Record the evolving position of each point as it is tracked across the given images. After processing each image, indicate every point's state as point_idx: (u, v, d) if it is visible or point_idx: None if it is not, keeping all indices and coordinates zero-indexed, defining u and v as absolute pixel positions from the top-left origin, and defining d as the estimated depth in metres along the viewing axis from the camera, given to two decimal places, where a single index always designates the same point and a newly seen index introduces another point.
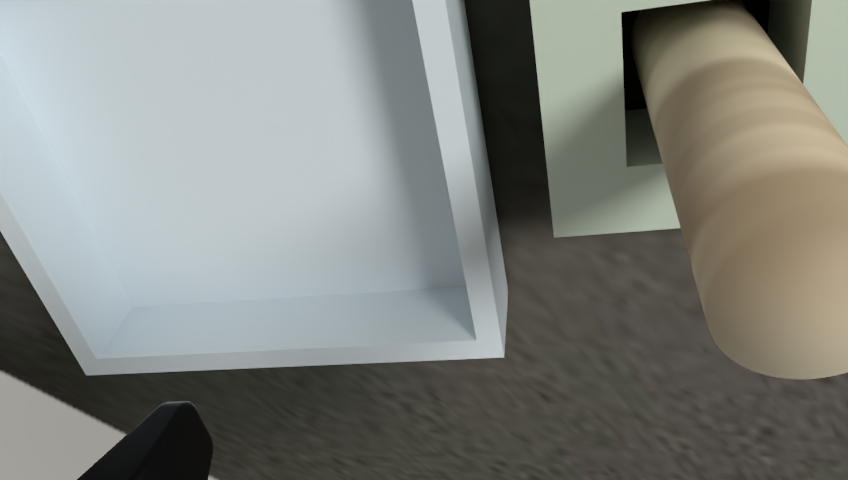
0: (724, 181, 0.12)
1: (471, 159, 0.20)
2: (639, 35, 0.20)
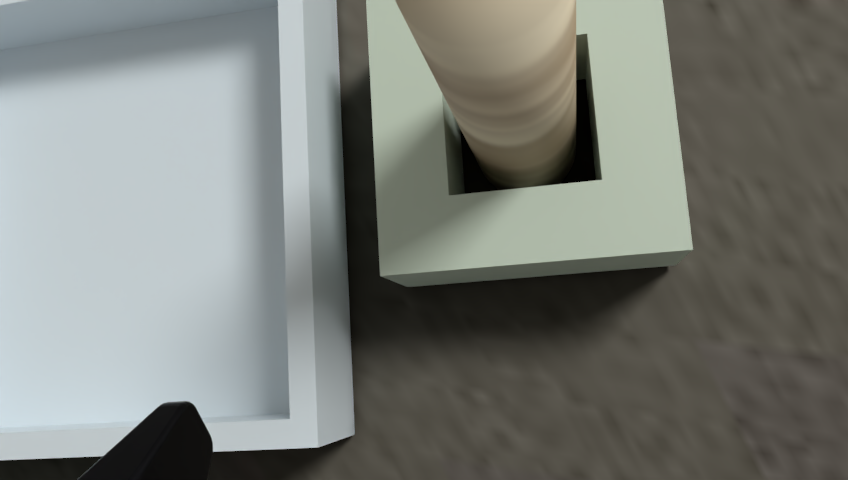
0: None
1: (309, 188, 0.22)
2: None
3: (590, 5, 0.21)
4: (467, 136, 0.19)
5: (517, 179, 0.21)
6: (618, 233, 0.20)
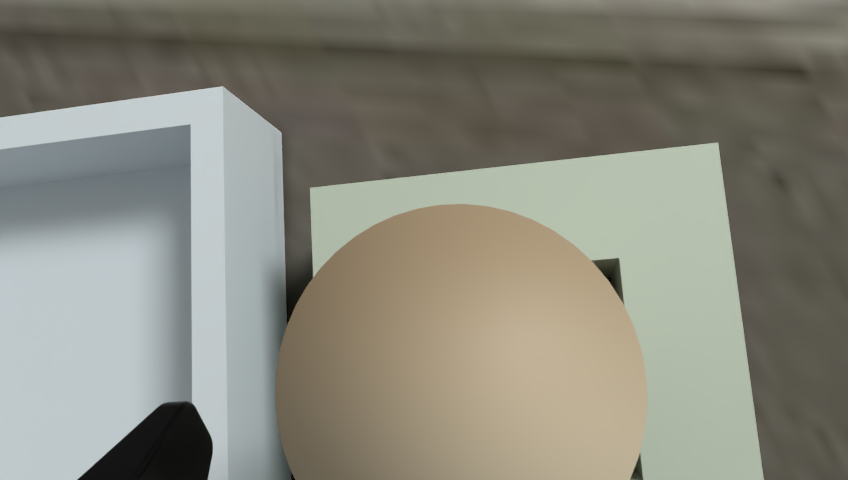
0: None
1: (228, 460, 0.15)
2: None
3: (624, 217, 0.15)
4: None
5: None
6: None
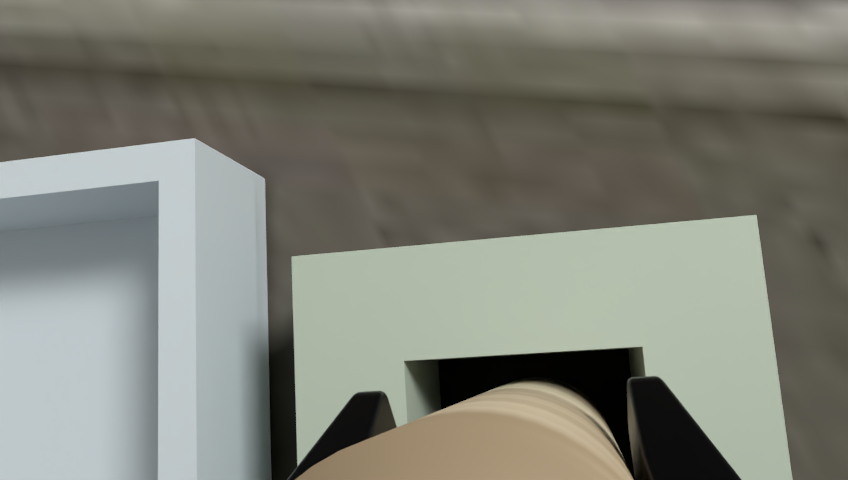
0: None
1: None
2: None
3: (648, 299, 0.13)
4: None
5: None
6: None
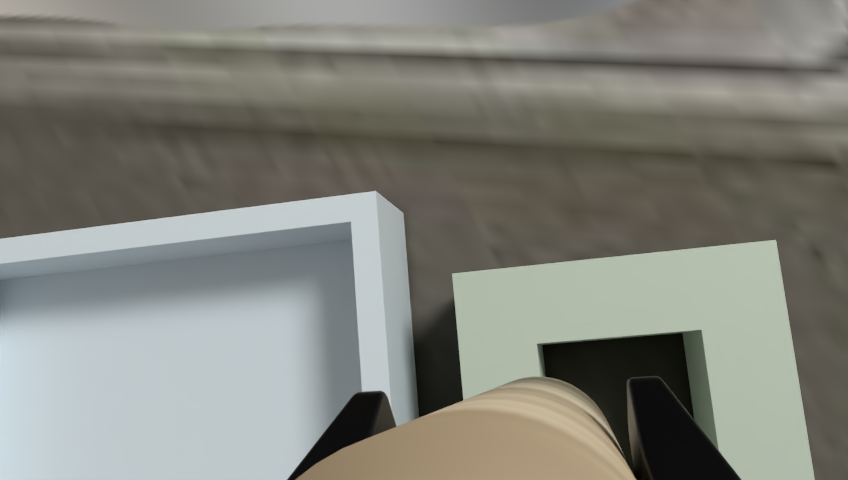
0: None
1: None
2: None
3: (704, 297, 0.19)
4: None
5: None
6: None
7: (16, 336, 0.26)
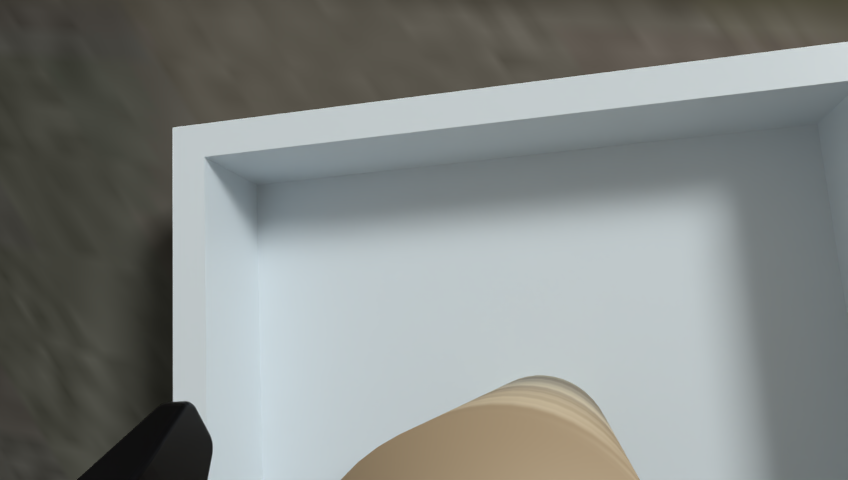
0: None
1: None
2: None
3: None
4: None
5: None
6: None
7: (280, 259, 0.19)
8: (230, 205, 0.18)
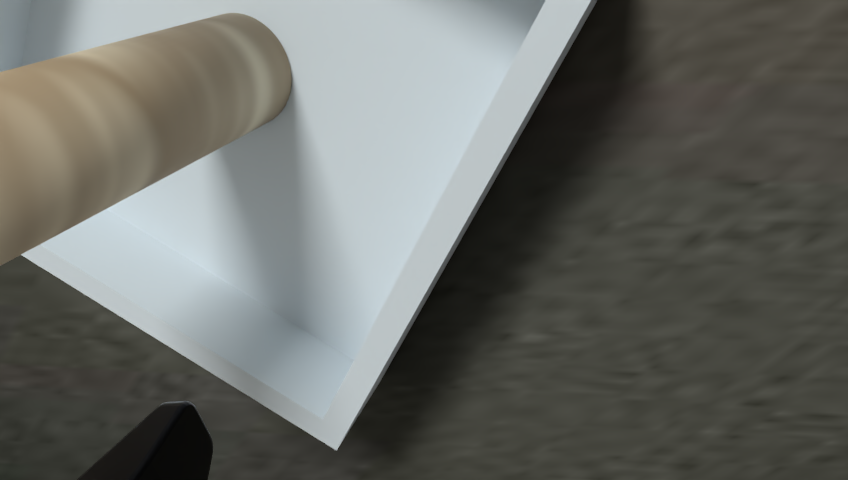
0: None
1: None
2: None
3: None
4: None
5: (239, 129, 0.19)
6: None
7: None
8: None
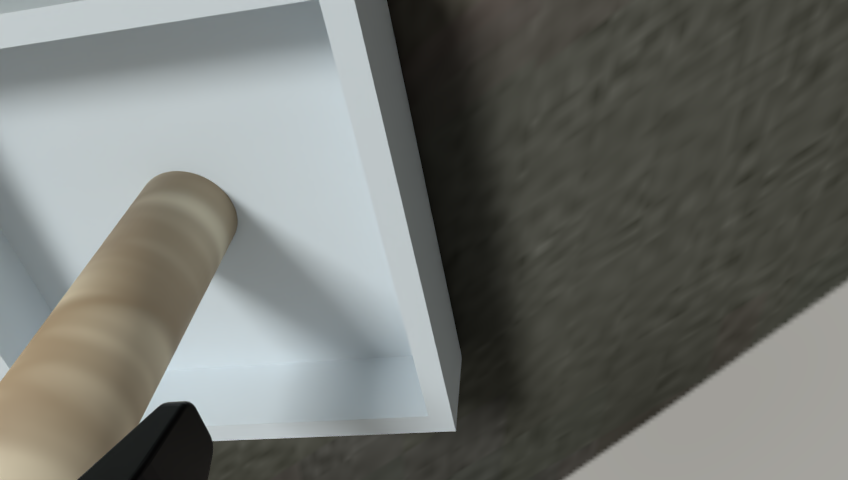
0: None
1: (45, 6, 0.17)
2: None
3: None
4: None
5: (213, 259, 0.22)
6: None
7: None
8: None
